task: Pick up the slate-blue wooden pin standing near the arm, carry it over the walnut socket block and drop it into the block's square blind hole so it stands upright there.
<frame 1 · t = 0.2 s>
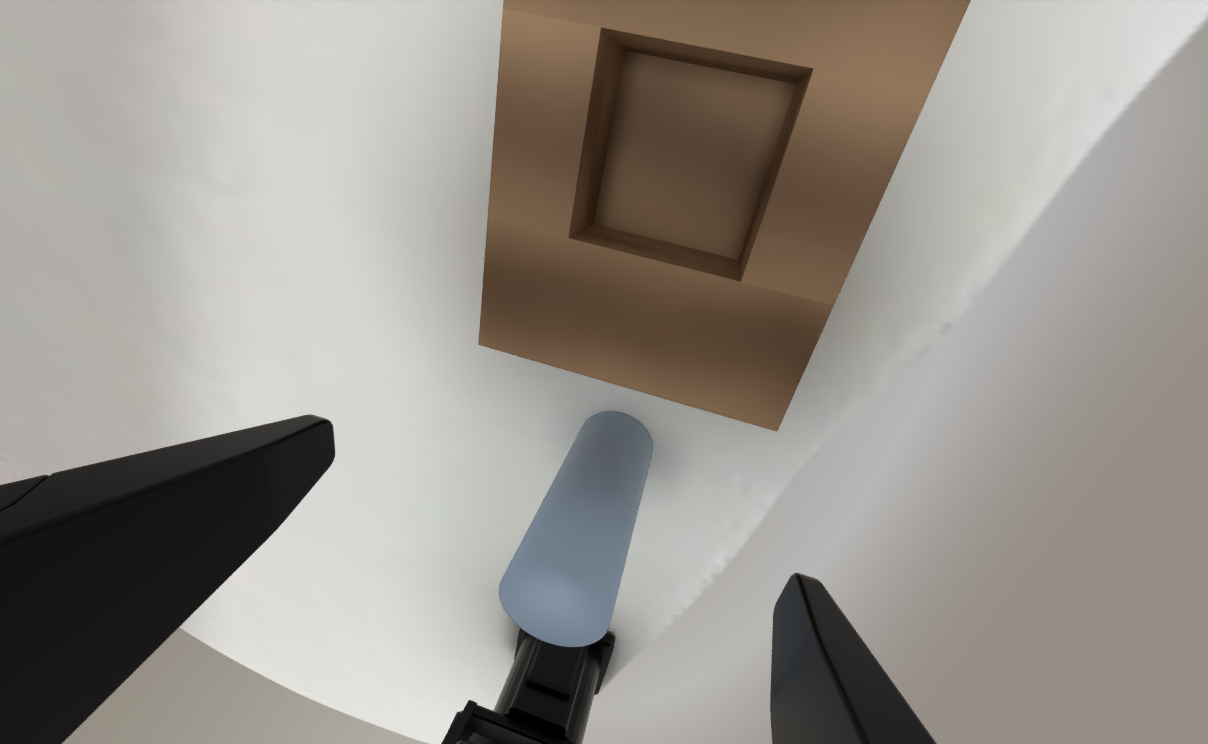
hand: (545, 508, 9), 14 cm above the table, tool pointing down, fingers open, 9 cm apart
socket block: (687, 160, 18), on the table
pin: (615, 444, 25), on the table
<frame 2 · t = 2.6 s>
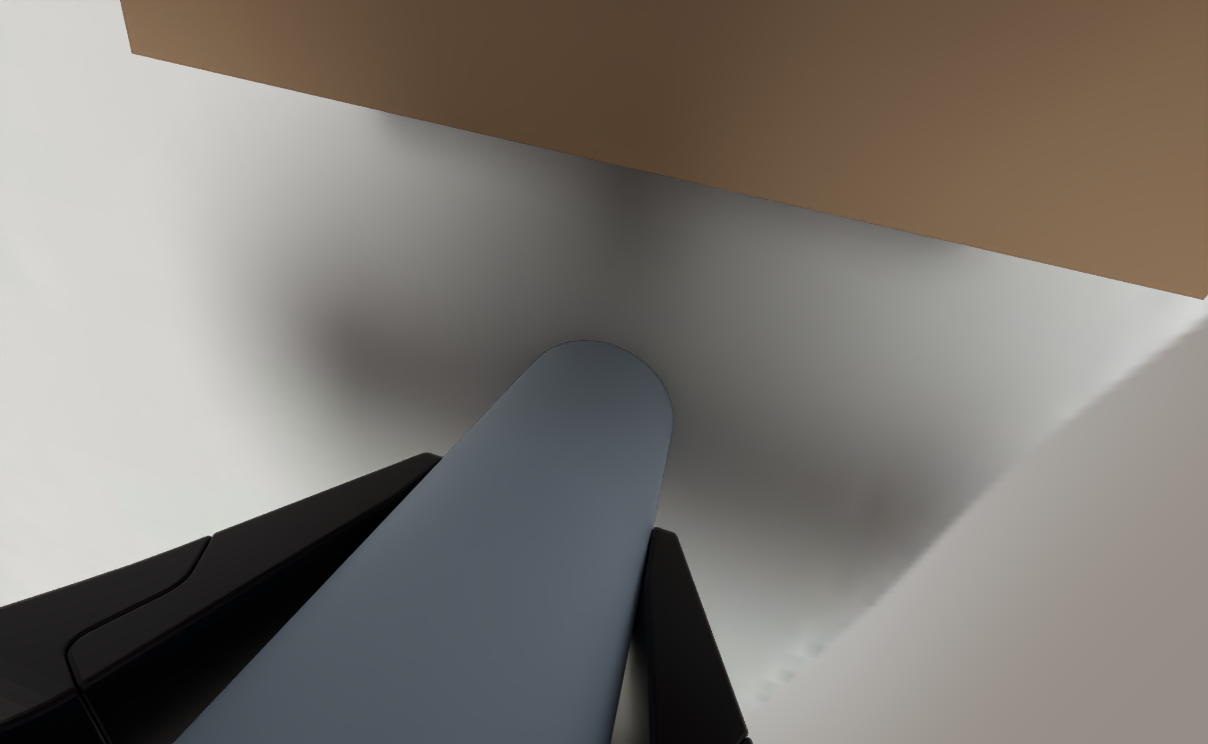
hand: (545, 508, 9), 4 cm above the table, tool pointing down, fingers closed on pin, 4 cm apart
pin: (593, 415, 12), on the table, touching gripper
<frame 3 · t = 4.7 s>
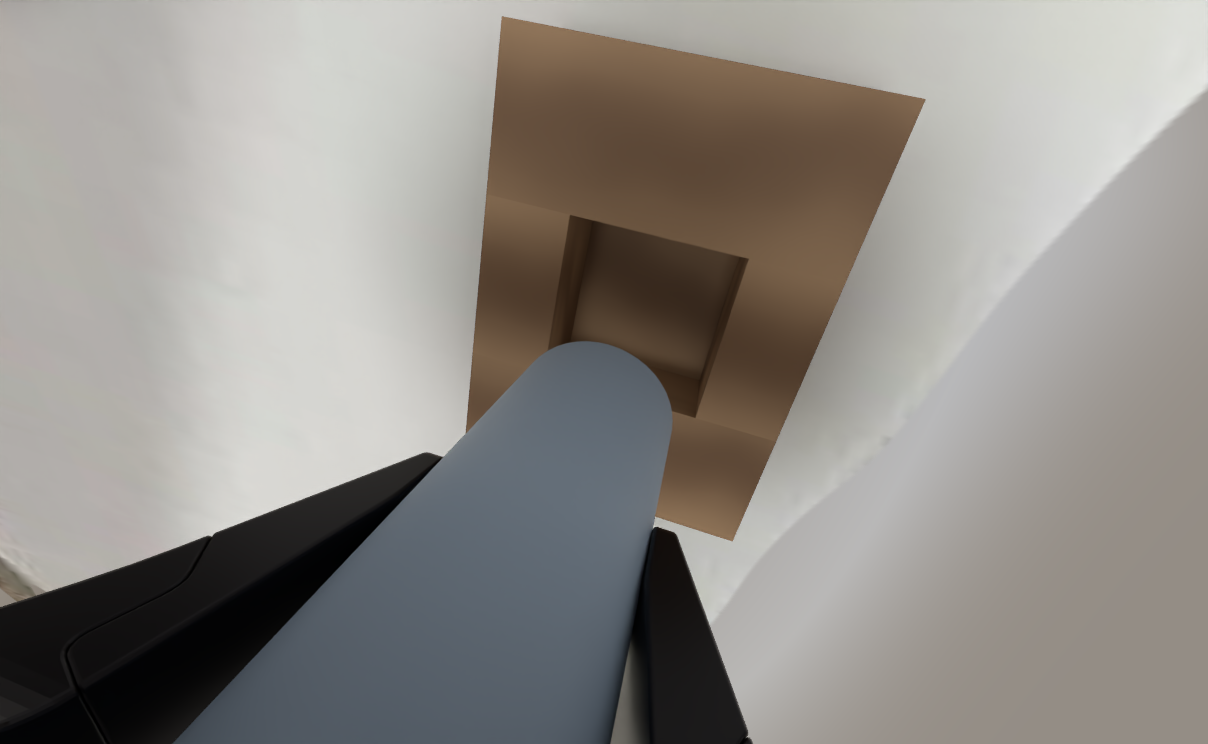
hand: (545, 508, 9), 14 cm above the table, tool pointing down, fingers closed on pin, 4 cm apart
socket block: (652, 292, 20), on the table
pin: (592, 415, 12), point 10 cm above the table, touching gripper
when the fingers open (5 cm above the table, at t = 7.2 s): pin stays where it is, resting on socket block.
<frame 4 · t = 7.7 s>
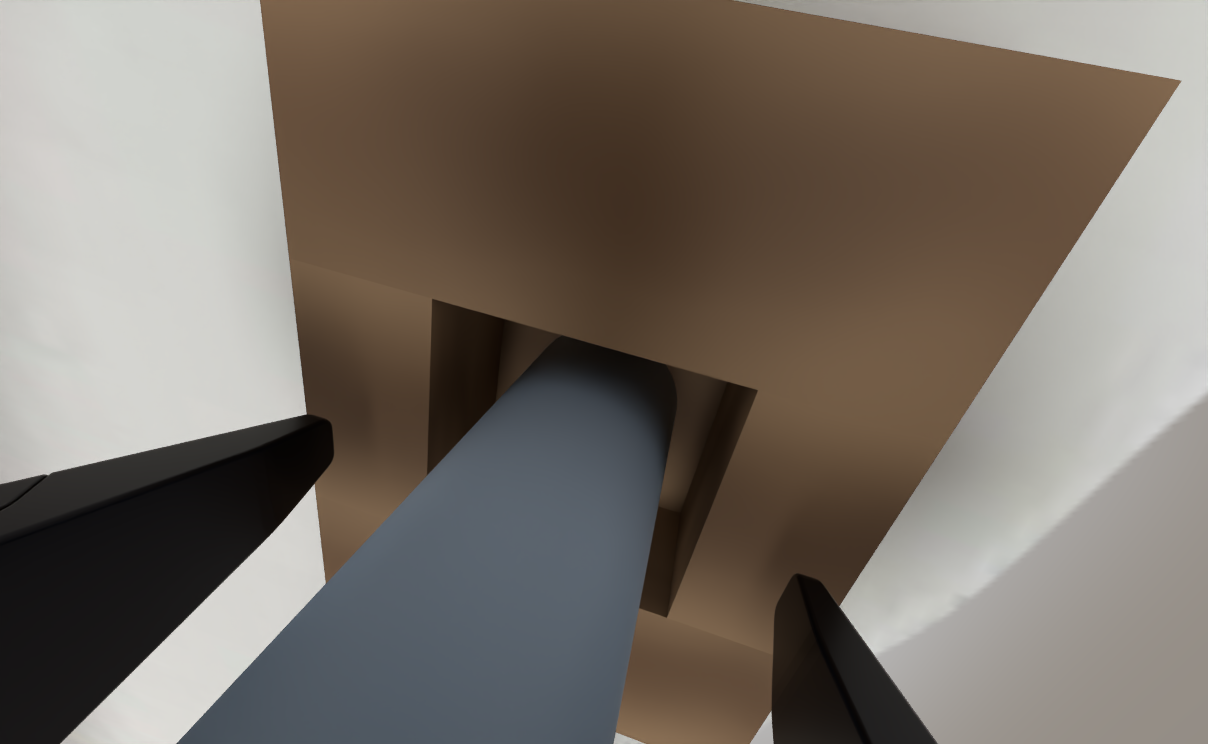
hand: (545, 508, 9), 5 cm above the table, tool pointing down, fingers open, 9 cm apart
socket block: (609, 381, 13), on the table
pin: (602, 397, 13), point 1 cm above the table, touching socket block
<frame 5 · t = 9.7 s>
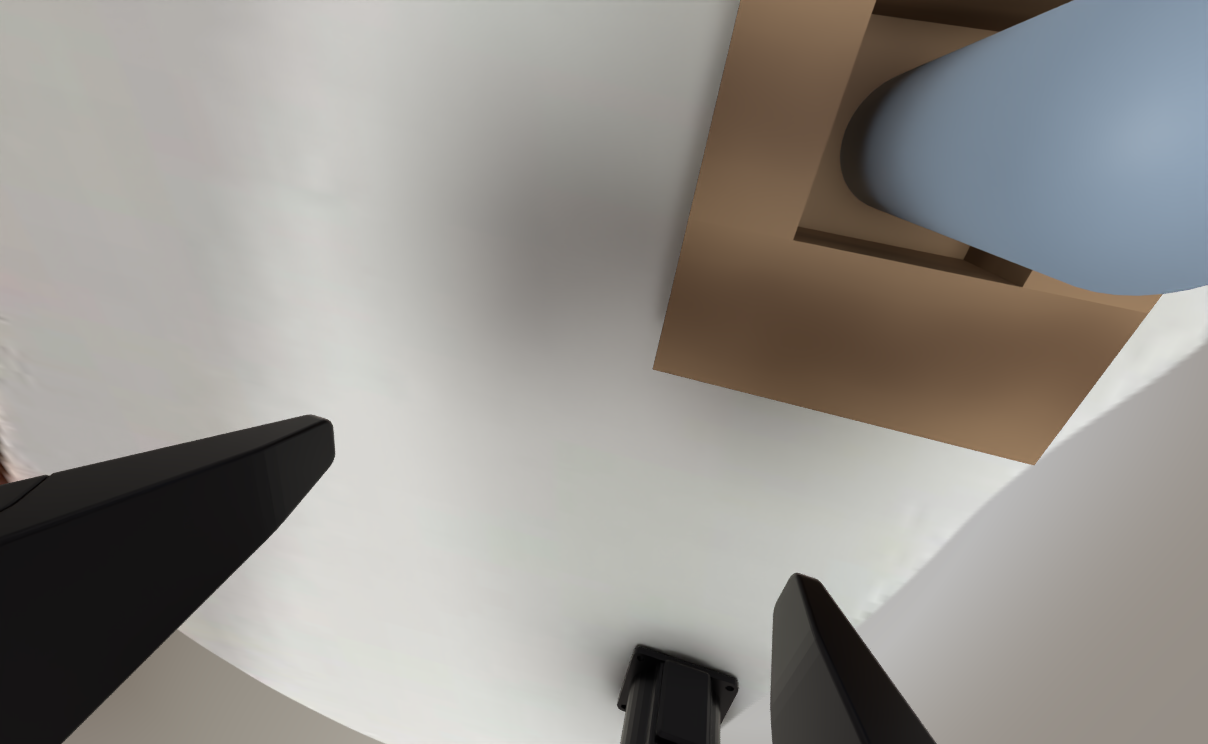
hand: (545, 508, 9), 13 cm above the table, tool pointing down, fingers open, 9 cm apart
socket block: (899, 144, 15), on the table
pin: (910, 143, 14), point 1 cm above the table, touching socket block
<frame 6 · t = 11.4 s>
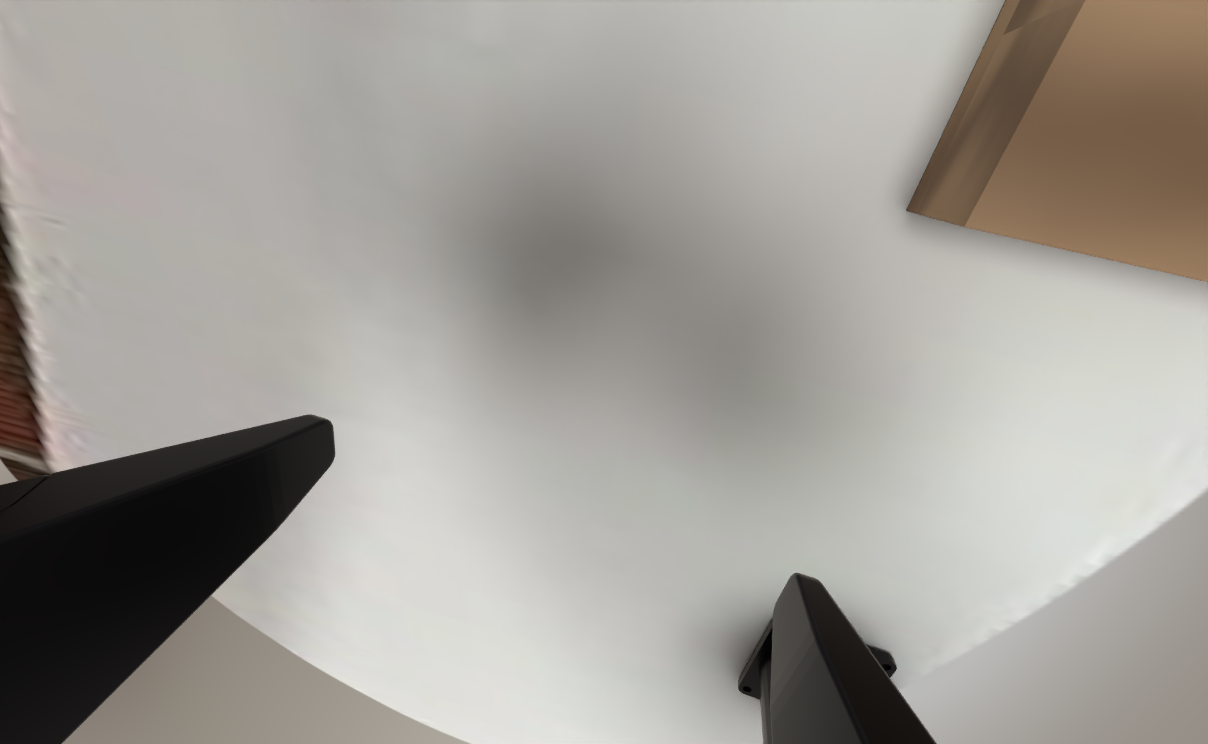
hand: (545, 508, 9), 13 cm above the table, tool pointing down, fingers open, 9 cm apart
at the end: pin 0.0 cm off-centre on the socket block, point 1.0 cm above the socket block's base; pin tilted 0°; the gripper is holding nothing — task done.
